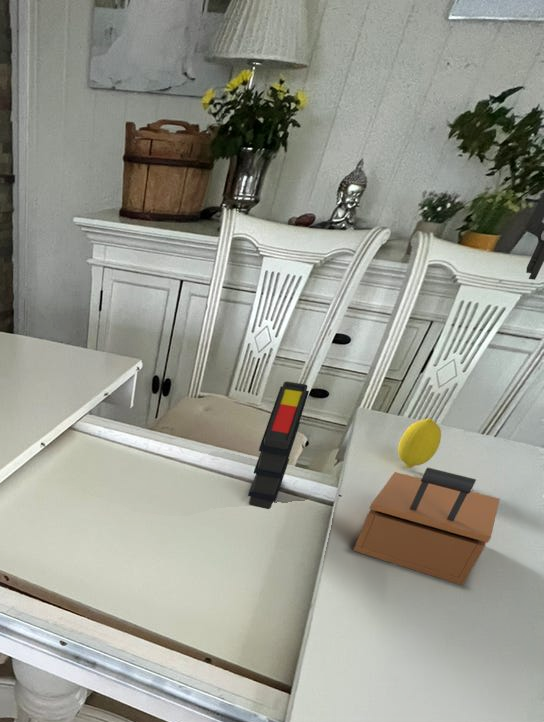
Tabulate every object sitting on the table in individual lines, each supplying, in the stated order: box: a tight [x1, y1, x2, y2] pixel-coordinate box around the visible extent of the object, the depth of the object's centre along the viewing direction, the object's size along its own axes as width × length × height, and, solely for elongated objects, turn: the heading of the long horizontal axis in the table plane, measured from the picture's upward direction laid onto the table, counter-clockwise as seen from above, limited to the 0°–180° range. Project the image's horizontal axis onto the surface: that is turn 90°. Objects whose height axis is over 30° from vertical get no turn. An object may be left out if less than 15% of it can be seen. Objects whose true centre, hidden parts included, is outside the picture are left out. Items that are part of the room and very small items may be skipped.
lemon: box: [397, 417, 442, 469], centre depth 93 cm, size 6×6×8 cm
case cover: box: [369, 467, 500, 543], centre depth 70 cm, size 14×13×6 cm
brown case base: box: [352, 509, 487, 586], centre depth 74 cm, size 14×13×5 cm
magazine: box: [247, 381, 310, 510], centre depth 82 cm, size 4×13×15 cm, turn 156°
